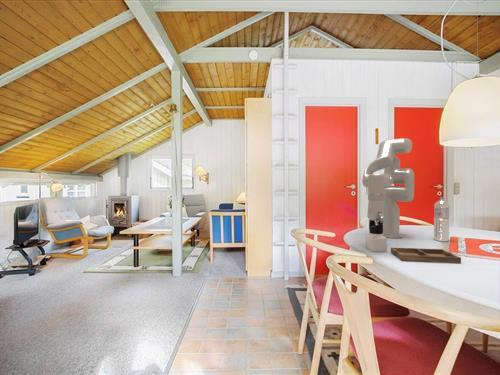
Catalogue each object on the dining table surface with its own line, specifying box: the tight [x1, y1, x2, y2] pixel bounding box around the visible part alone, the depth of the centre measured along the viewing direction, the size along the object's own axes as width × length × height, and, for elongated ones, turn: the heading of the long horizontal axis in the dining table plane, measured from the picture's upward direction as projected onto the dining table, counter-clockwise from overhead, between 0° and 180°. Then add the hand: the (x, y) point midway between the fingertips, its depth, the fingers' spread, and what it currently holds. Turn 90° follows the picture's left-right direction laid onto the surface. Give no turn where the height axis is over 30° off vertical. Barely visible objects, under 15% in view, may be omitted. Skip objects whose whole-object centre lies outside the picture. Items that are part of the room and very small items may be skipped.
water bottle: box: [433, 197, 450, 243], centre depth 135 cm, size 7×7×25 cm
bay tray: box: [390, 247, 462, 264], centre depth 108 cm, size 12×23×2 cm, turn 80°
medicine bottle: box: [365, 226, 388, 253], centre depth 120 cm, size 7×7×12 cm
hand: (375, 231), depth 120 cm, fingers open, 9 cm apart
